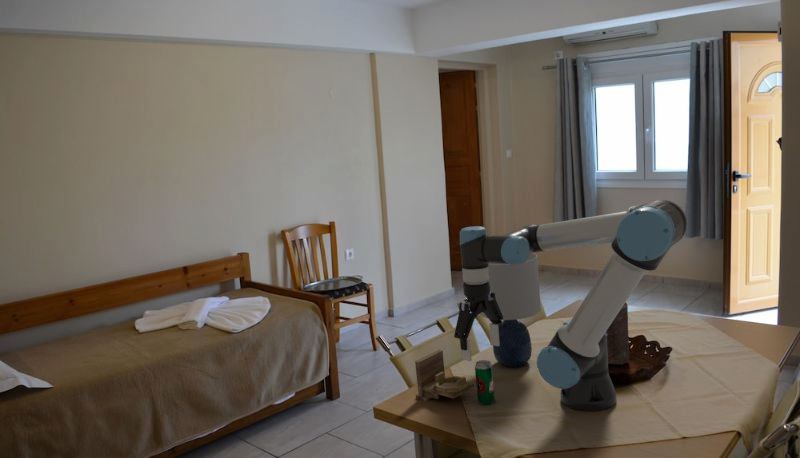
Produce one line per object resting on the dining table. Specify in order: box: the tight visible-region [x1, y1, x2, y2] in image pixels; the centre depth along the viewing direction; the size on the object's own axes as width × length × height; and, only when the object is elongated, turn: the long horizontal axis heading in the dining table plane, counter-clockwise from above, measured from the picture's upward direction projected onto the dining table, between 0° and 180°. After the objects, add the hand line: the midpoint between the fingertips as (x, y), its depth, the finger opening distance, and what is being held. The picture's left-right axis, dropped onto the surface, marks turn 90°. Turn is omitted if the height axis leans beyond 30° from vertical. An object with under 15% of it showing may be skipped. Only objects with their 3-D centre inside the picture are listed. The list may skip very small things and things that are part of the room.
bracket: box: [414, 349, 475, 402], centre depth 194 cm, size 14×11×12 cm
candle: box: [606, 301, 630, 366], centre depth 206 cm, size 8×7×20 cm
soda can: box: [474, 359, 496, 406], centre depth 188 cm, size 5×5×12 cm
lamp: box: [479, 252, 542, 368], centre depth 214 cm, size 20×20×37 cm
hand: (481, 352), depth 187 cm, fingers open, 13 cm apart
